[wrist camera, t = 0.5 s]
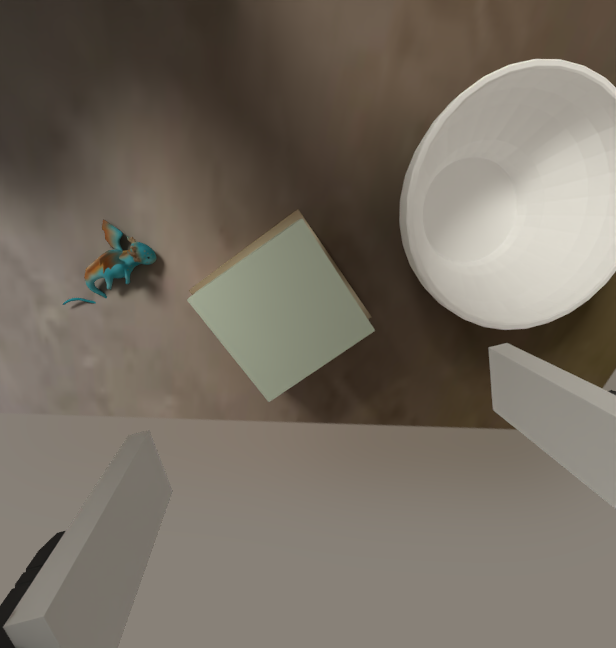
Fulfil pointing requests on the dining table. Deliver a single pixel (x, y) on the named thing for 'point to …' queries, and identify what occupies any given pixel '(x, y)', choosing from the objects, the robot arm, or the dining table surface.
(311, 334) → the tower top
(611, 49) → the dining table surface
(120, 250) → the dragon figurine
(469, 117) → the bowl
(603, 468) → the robot arm
